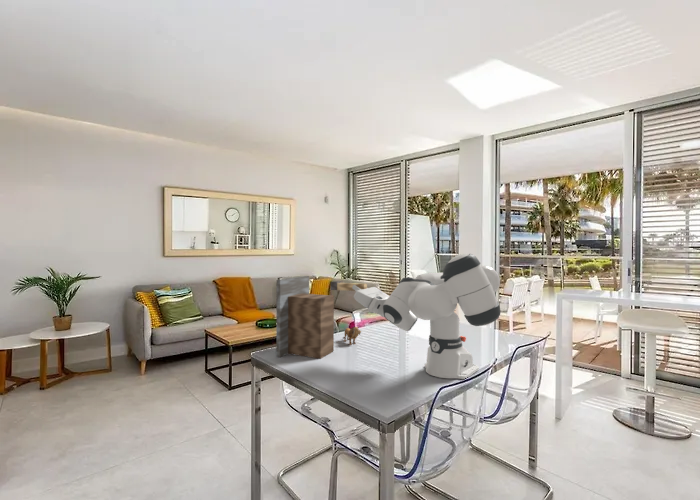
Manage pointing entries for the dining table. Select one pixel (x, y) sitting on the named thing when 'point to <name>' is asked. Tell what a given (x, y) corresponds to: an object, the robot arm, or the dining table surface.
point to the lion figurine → (351, 334)
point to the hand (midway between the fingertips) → (355, 285)
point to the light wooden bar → (346, 286)
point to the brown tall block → (303, 319)
